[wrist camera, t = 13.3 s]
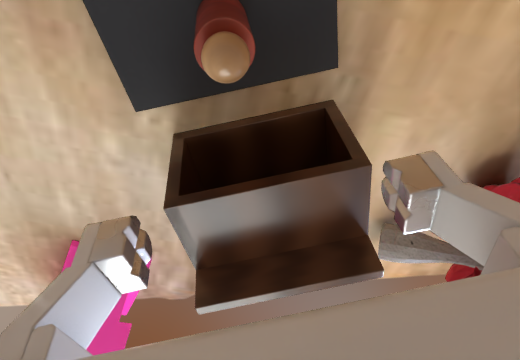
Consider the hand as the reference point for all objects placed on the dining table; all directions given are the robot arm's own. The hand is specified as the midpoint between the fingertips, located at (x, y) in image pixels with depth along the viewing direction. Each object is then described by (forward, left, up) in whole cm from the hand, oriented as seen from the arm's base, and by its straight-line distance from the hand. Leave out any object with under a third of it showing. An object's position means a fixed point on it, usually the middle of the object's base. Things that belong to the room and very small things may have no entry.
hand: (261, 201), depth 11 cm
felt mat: (-1, 0, -23) cm, 23 cm away
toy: (-1, -1, -23) cm, 23 cm away
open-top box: (0, -15, -23) cm, 28 cm away
